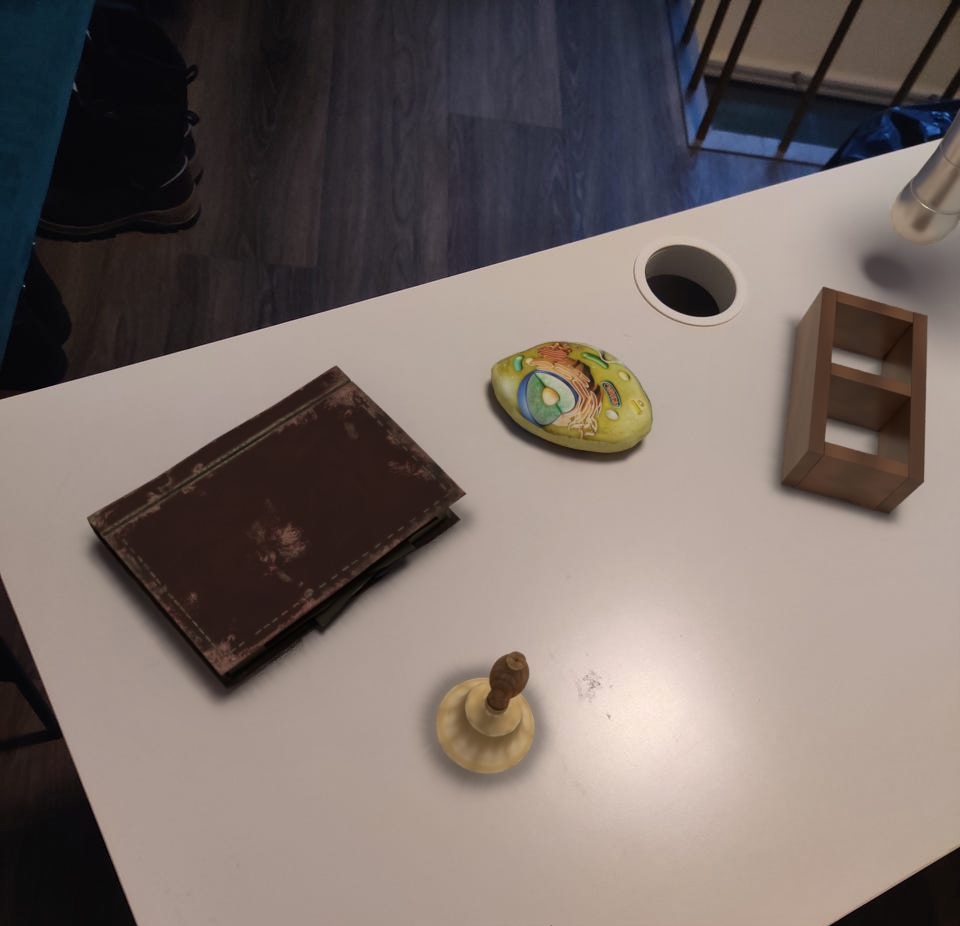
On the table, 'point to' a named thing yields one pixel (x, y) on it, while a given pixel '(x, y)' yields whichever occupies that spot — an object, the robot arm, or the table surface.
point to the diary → (278, 523)
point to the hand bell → (488, 718)
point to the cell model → (574, 396)
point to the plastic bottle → (932, 195)
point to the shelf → (858, 401)
